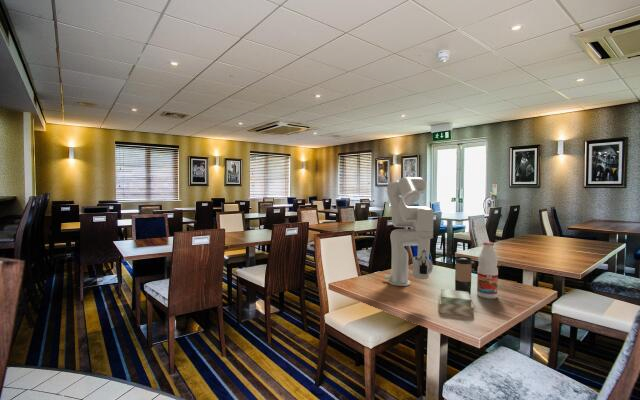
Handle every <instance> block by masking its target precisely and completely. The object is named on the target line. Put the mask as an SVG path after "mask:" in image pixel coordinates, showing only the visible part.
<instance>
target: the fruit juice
mask: <svg viewBox="0 0 640 400" xmlns="http://www.w3.org/2000/svg"><path fill="white" fill-rule="evenodd" d="M494 246H495V245H494V242H492V241H483V242H482V250H481V252H480V253H479V255H478V258H477V260H478V266H477V277H476V278H477V280H476V281H477V282H476V295H477V296H478V297H480V298H484V299H489V300H492V299H497V298H498V289H499V288H498V287H499V286H498V281H499V270H498V267H497V266H498V262H499V260H498V256H497V255H496V253H495V249H494Z"/></svg>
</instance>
